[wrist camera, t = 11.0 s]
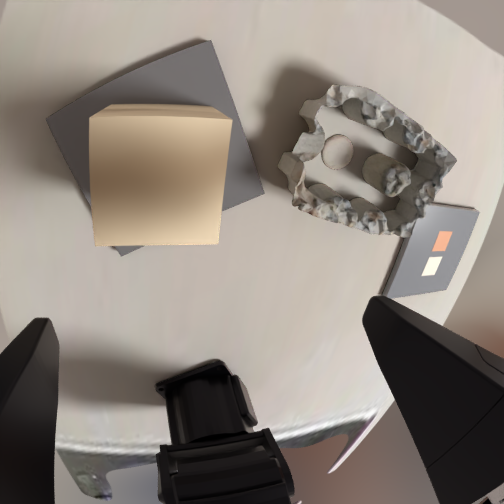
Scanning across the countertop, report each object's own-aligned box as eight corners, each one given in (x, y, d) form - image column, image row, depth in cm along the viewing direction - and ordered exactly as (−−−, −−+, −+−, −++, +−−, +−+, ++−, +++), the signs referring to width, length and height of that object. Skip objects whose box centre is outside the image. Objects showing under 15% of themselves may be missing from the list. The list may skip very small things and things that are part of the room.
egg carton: (261, 182, 19) (285, 211, 15) (314, 68, 16) (353, 70, 12) (382, 229, 23) (415, 258, 20) (427, 144, 20) (467, 162, 17)
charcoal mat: (121, 251, 18) (121, 256, 18) (49, 117, 13) (45, 119, 12) (261, 190, 18) (264, 193, 18) (209, 41, 13) (210, 39, 13)
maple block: (202, 198, 17) (218, 244, 13) (110, 198, 16) (95, 246, 12) (211, 106, 15) (232, 119, 11) (111, 104, 13) (89, 117, 9)
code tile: (442, 286, 29) (446, 289, 29) (381, 295, 27) (385, 299, 26) (475, 209, 25) (479, 212, 24) (417, 201, 22) (422, 204, 22)
